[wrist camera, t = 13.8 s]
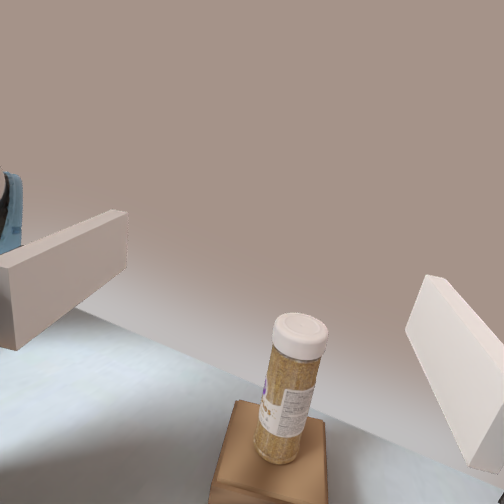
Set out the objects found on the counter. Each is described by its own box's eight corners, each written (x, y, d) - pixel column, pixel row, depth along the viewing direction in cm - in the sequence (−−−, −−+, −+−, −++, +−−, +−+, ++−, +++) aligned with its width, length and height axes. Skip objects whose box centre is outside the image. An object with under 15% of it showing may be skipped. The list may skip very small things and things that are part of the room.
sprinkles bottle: (248, 427, 35) (269, 309, 30) (291, 425, 36) (318, 311, 31) (257, 469, 30) (283, 339, 26) (306, 466, 31) (338, 340, 27)
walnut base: (206, 512, 30) (211, 480, 29) (231, 423, 40) (236, 396, 38) (320, 544, 29) (330, 513, 28) (318, 445, 39) (326, 418, 37)
